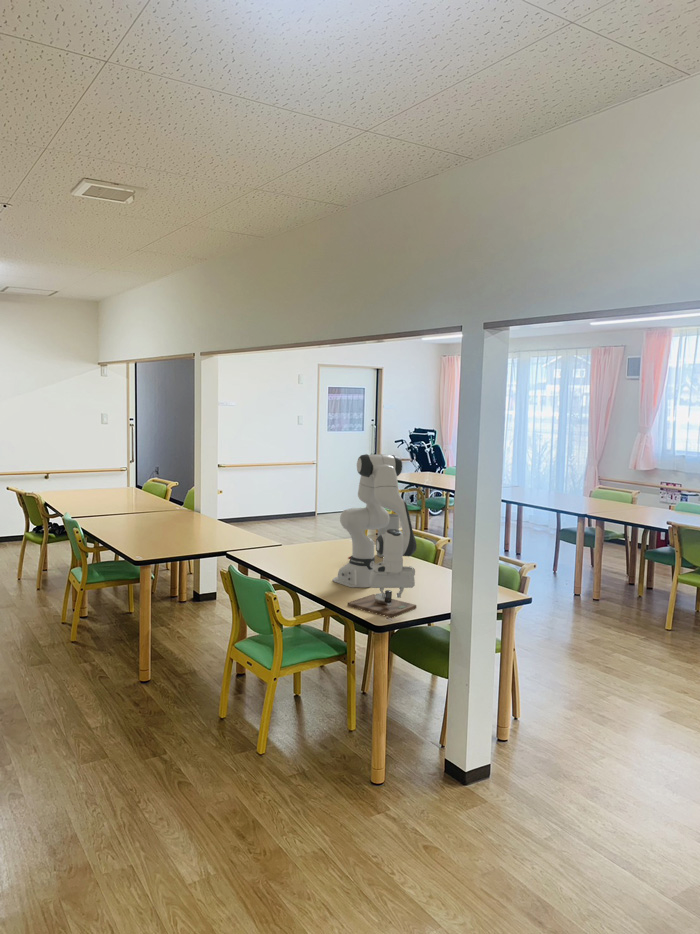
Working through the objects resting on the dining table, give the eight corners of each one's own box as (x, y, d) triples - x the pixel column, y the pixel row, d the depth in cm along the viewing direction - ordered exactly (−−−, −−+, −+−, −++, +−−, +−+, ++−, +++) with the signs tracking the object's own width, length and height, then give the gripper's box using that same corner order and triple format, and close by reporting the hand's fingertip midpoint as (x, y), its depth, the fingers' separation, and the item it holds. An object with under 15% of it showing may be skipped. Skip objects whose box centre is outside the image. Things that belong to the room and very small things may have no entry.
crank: (373, 599, 316) (374, 584, 315) (388, 599, 317) (388, 584, 317) (381, 608, 302) (382, 592, 302) (396, 608, 304) (397, 592, 303)
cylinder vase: (373, 554, 419) (375, 513, 417) (391, 553, 424) (393, 513, 422) (382, 559, 408) (384, 517, 405) (401, 558, 413) (403, 516, 411)
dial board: (347, 605, 311) (347, 602, 310) (373, 597, 326) (373, 593, 326) (391, 617, 296) (391, 614, 296) (416, 608, 312) (416, 604, 312)
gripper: (413, 565, 309) (411, 595, 310) (368, 565, 305) (367, 595, 306) (417, 568, 303) (415, 599, 304) (372, 568, 299) (370, 599, 300)
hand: (391, 597), depth 305 cm, fingers open, 5 cm apart
